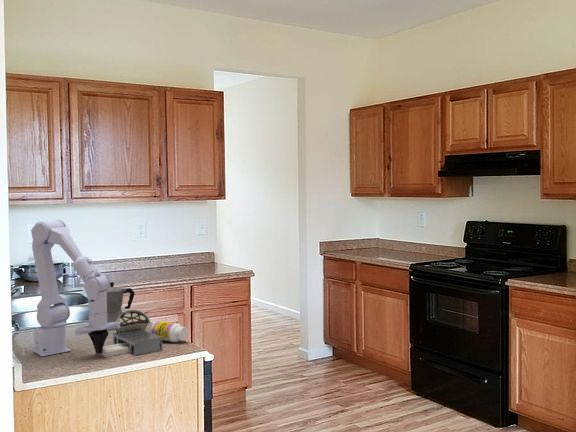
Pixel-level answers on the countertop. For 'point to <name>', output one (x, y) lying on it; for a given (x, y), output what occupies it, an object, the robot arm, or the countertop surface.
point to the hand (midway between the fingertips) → (98, 353)
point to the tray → (116, 349)
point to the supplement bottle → (169, 331)
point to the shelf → (139, 341)
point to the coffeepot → (117, 302)
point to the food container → (132, 321)
